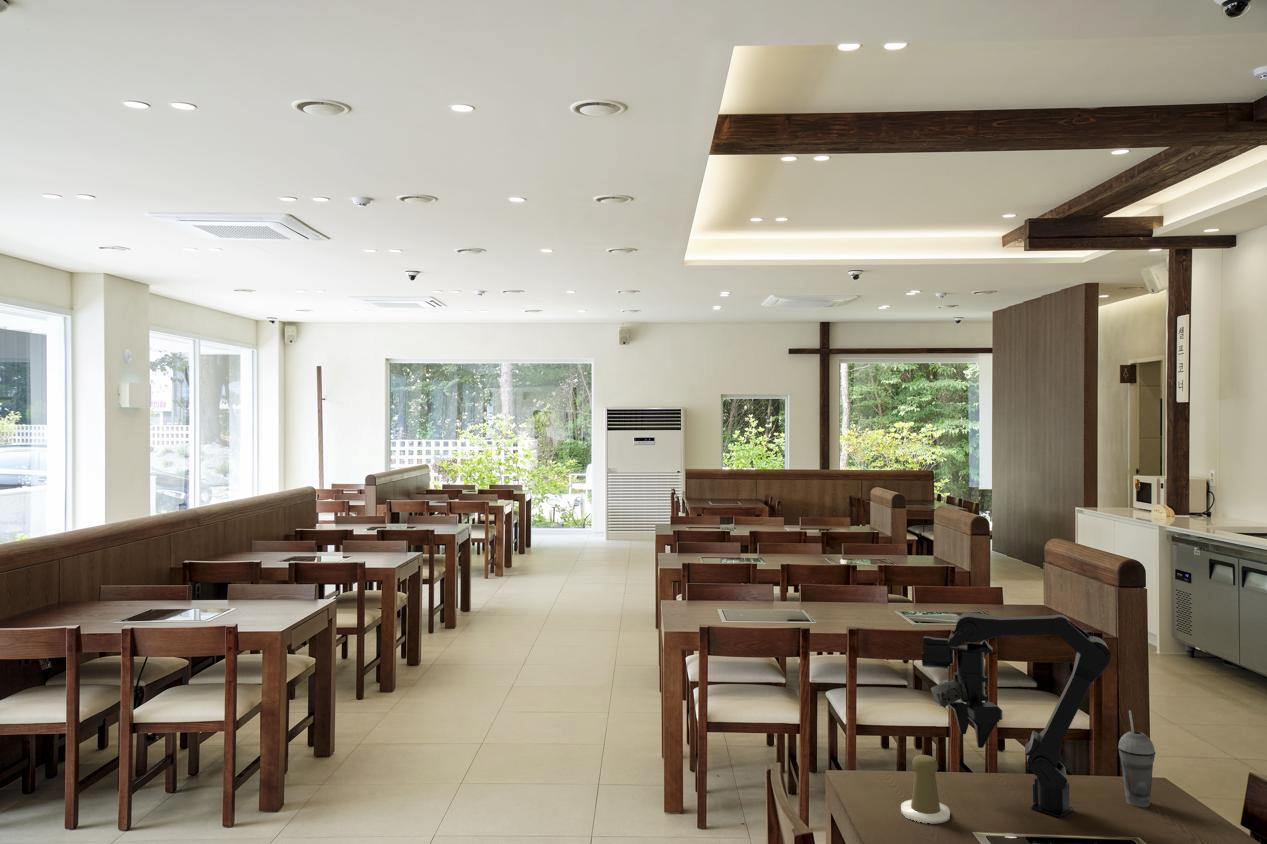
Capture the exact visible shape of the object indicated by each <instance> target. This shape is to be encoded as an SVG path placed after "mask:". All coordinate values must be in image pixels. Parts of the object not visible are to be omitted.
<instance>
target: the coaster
mask: <svg viewBox="0 0 1267 844" xmlns="http://www.w3.org/2000/svg"><path fill="white" fill-rule="evenodd" d="M911 802H912V799H908V800H905V801H903V802H902V803H901V804H900V814H903V815H904V816H905V818H906V819H908V820H910V819H911V820H910V821H912V820H914V821H913V822H916V821H917V822H916V823H920V822H922V823H921V824H927V823H930V825H935V824H942V823H946V822H948V821H950V819H951V818H950V817H951V811H950V808H949V807H948V806H947V805H946V804H944V803H941V802H939V804H940V812H938V813H935V814H924V813H919V812H917V811H914V810H913V809H912V808H911ZM903 815H902V816H903ZM904 816H903V817H904Z"/></svg>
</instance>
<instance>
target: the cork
mask: <svg viewBox="0 0 1267 844" xmlns="http://www.w3.org/2000/svg"><path fill="white" fill-rule="evenodd" d="M938 767H939V765H938V762H937V759H936V758H935V757H933V756H931V755H926V754H919V755H915V756H914V757H913V759H912V769H913V770H914V779H913V786H912V795H911V800H912V802H911V808H912V809H913V810H914V811H917V812H919V813H924V814H935V813H938V812H940V804H939V803H940V798H939V792H938V791H939V790H938V785H937V777H936V774H937V771H938V770H939V769H938Z"/></svg>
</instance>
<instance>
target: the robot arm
mask: <svg viewBox="0 0 1267 844" xmlns="http://www.w3.org/2000/svg"><path fill="white" fill-rule="evenodd" d="M1006 636H1007V637H1010V636H1011V637H1014V636H1017V637H1018V636H1057V637H1058V636H1059V637H1060V638H1061V639H1062V640H1064V642H1066V644H1068V645H1069V646H1070V647H1071V648H1072V649H1073V650H1074V651H1075V652H1076V654H1075V658H1074V663H1073V664H1074V665H1073V669H1072V673H1071V675H1070V677H1069V679H1068V682H1067V683H1066V684H1065V688H1064V689H1063V691H1062V693H1061V695H1060V697H1059V699H1058V701H1057V703H1056V705H1055V708H1054V709H1053V711H1052V714H1051V715H1050V717H1049V718H1048V719H1049V720H1048V721H1047V724H1046V725H1045V727H1044V729H1042V731H1040V733H1038V732H1036V730H1032V733H1031V736H1030V740H1028V742H1027V743H1026V744H1024V745H1025V755H1026V763H1027V767H1028V769H1029V771H1030V772H1031V773H1032V774H1033V775H1034V776H1036V777H1034V778H1033V784H1032V787H1031V788H1032V790H1031V791H1032V803H1033V804H1032V805H1030V809H1031V808H1032V810H1034V809H1035V811H1037V810H1038V811H1037V812H1040V811H1041V812H1040V813H1044V814H1046V815H1047V814H1048V815H1049V816H1053V817H1055V818H1061V817H1062V818H1063V816H1065V815H1067V814H1069V813H1071V812H1073V811H1074V807H1073V806H1070V803H1071V802H1070V783H1069V782H1068V776H1067V771H1066V767H1065V766H1064V764H1063V763H1062V762H1060V760H1059V759H1060V756H1061V750H1062V744H1063V742H1064V741H1063V740H1064V739H1065V736H1066V734H1067V732H1068V731H1069V728H1070V726H1071V725H1072V723H1073V720H1074V719H1075V717H1076V714H1077V713H1078V711H1079V709H1080V706H1081V705H1082V702H1083V700H1084V699H1085V697H1086V694H1087V692H1088V691H1089V688H1090V686H1091V685H1092V684H1093V682H1095V681H1096V680H1097V679H1098V678H1099V677H1100V676H1101V675H1102V673H1103V672H1104V670H1106V668H1107V667H1108V666H1109V665H1110V663H1111V659H1112V655H1111V652H1110V651H1111V650H1110V649H1109V647H1108V645H1107V643H1106V642H1105V640H1103V639H1102V638H1101V637H1098V636H1094V635H1090V634H1088V633H1087V632H1086V631H1085V630H1083V629H1082V628H1081V627H1079V626H1078V625H1076V624H1075V623H1074V622H1072V621H1071V620H1070V619H1069V618H1068V617H1067V616H1066V615H1064V614H1060V613H1058V614H1054V615H1025V616H1023V615H1022V616H1019V615H1018V616H995V615H990V614H985V613H981V612H980V613H978V612H971V611H968V612H964V613H962V614H961V615H960V616H959V617H958V618H957V620H956V624H955V628H954V630H953V631H952V633H950V634H949V636H948V638H945V637H944V638H943V637H933V636H927V635H925V636H923V638H922V639H923V640H922V642H923V643H922V652H921V665H922V668H934V669H946V670H949V667H951V666H953V665H954V663H955V651H956V672H953V674H952V680H949V681H944V682H942V683H940V684H937V685H935V686H932V687H931V688H930V691H931V694H932V695H933V696H932V697H933V699H934V702H935V703H936V704H939V706H940V707H946V706H947V707H948V706H950V707H951V708H952V711H953V713H954V717H955V719H956V723H957V726H958V730H959V733H960V735H966V734H967V731H968V729H969V725H970V722H971V723H973V726H974V732H975V739H976V744H977V748H979V749H983V748H984V747H985V745H986V743H987V741H988V739H989V737H990V735H991V733H992V731H993V730H994V729H995V727H996V725H997V723H999V722H1000V721H1002V720H1003V710H1002V709H1001V708H1000V707H999V706H998V705H997V704H995V703H993V702H992V701H989V696H988V695H986V693H985V683H988V682H989V678H988V677H987V676H986V675H985V653H987V654H992V653H993V646H991V645H990V644H989V643H988V642H987V640H990V639H993V638H997V637H1006ZM965 643H966V644H965ZM964 644H965V645H964ZM988 701H989V702H988Z"/></svg>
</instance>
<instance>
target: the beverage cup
mask: <svg viewBox="0 0 1267 844" xmlns="http://www.w3.org/2000/svg"><path fill="white" fill-rule="evenodd" d="M1128 716H1129V723H1130V729H1131V731H1127V732H1125V733H1124V734H1123V735H1122V736H1121V737H1120V739H1119V741H1118V746H1117V749H1118V753H1119V758H1120V761H1121V762H1120V763H1121V773H1122V779H1123V786H1124V787H1123V788H1124V795H1125V802H1126V803H1127V804H1128V805H1130V806H1133V807H1137V808H1138V807H1139V808H1148V807H1150V802H1151V798H1152V797H1151V795H1152V783H1153V781H1152V780H1153V769H1154V762H1155V757H1156V754H1157V753H1156V750H1155V746H1154V744H1153V742H1152V740H1151V739H1150V738H1149V736H1148V735H1146V734H1145V733H1143V732H1141V731H1137V730H1135V729H1134V727H1135V726H1134V721H1133V720H1134V719H1133V715H1132V710H1128Z"/></svg>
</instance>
